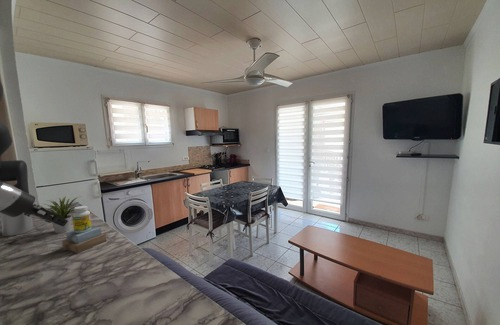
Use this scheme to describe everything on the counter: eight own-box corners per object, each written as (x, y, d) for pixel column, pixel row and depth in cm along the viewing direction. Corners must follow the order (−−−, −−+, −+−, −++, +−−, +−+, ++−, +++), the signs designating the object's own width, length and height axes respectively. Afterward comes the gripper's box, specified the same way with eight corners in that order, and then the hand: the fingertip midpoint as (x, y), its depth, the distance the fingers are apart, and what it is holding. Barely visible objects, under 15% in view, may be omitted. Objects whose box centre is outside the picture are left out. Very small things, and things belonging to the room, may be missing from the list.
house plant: (76, 221, 103) (73, 191, 102) (91, 226, 97) (88, 193, 96) (38, 232, 91) (34, 197, 89) (52, 238, 85) (48, 201, 83)
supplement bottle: (92, 226, 83) (90, 204, 82) (90, 231, 78) (88, 207, 77) (75, 229, 80) (73, 206, 79) (72, 234, 75) (70, 210, 75)
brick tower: (62, 247, 77) (61, 233, 77) (91, 236, 86) (90, 223, 86) (77, 253, 73) (76, 237, 73) (106, 240, 83) (104, 227, 82)
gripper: (30, 191, 60) (78, 215, 71) (8, 187, 65) (56, 210, 77) (6, 213, 55) (61, 235, 67) (-15, 207, 61) (39, 228, 72)
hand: (58, 221), depth 72 cm, fingers open, 8 cm apart
